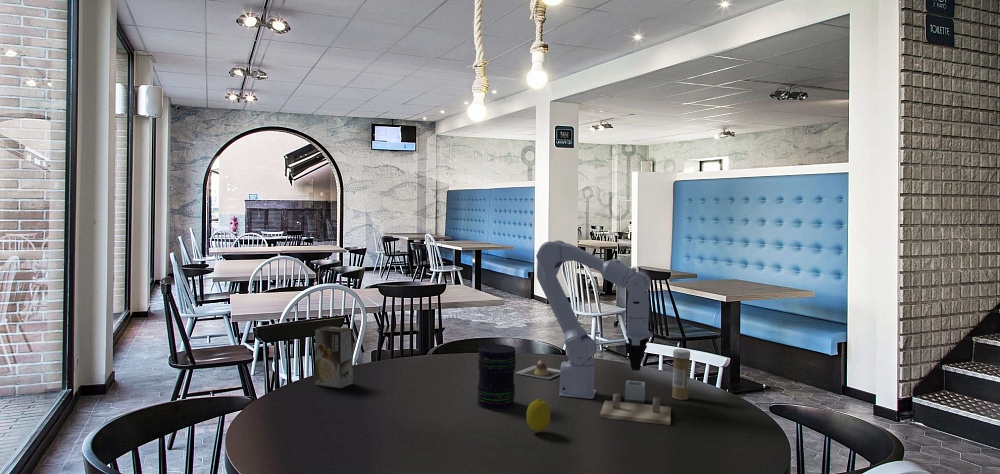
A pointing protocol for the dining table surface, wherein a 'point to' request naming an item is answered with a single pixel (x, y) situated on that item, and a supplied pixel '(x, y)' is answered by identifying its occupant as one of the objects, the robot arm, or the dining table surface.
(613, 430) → the dining table surface
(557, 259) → the robot arm
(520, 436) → the dining table surface
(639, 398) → the sleeve
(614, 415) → the pin board
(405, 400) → the dining table surface
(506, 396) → the storage jar
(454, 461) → the dining table surface
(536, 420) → the lemon
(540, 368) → the dessert
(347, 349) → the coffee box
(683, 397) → the sprinkles bottle
